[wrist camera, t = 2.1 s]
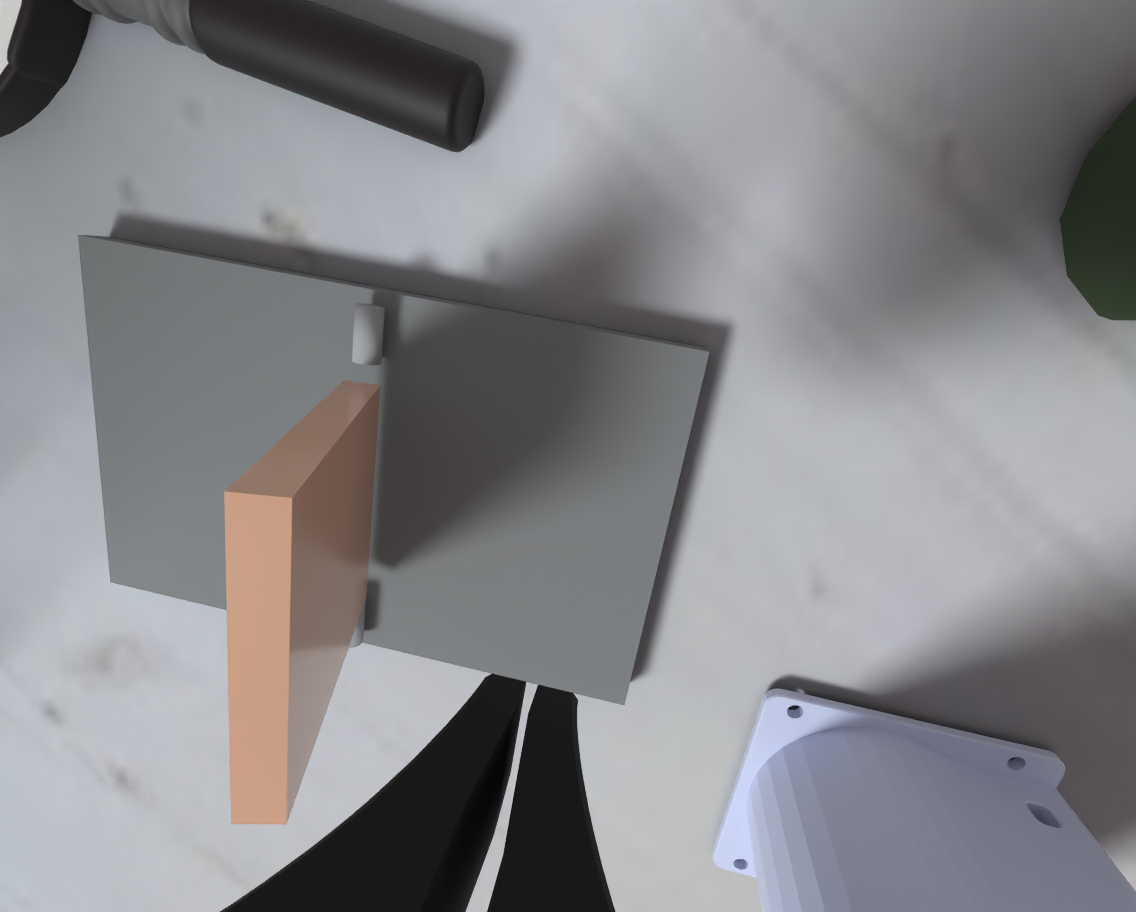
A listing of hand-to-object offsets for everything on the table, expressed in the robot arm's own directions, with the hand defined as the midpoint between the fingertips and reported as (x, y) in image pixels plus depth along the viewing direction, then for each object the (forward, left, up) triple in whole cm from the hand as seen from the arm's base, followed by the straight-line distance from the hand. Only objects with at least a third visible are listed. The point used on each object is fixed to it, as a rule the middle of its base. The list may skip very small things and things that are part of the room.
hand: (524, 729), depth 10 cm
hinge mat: (+7, 0, -9) cm, 12 cm away
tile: (+5, 0, -4) cm, 6 cm away
